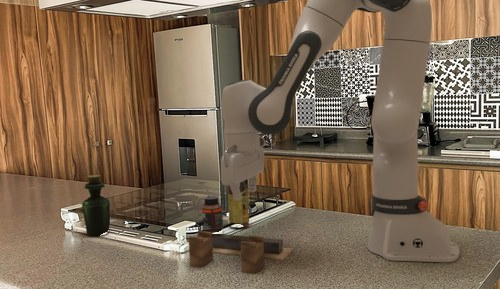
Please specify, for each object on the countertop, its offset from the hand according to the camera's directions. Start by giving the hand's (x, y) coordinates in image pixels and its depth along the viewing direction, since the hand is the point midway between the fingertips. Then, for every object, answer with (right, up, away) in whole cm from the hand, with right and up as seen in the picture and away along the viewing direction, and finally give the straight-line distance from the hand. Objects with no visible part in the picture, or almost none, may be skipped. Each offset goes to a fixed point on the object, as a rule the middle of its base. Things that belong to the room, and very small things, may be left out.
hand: (245, 195), depth 133 cm
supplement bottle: (-10, -14, +17) cm, 24 cm away
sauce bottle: (-2, -12, +25) cm, 28 cm away
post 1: (-11, -16, -6) cm, 20 cm away
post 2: (+2, -16, -11) cm, 20 cm away
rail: (0, -14, +2) cm, 14 cm away
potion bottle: (-45, -14, +23) cm, 53 cm away
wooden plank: (0, -15, +2) cm, 15 cm away
